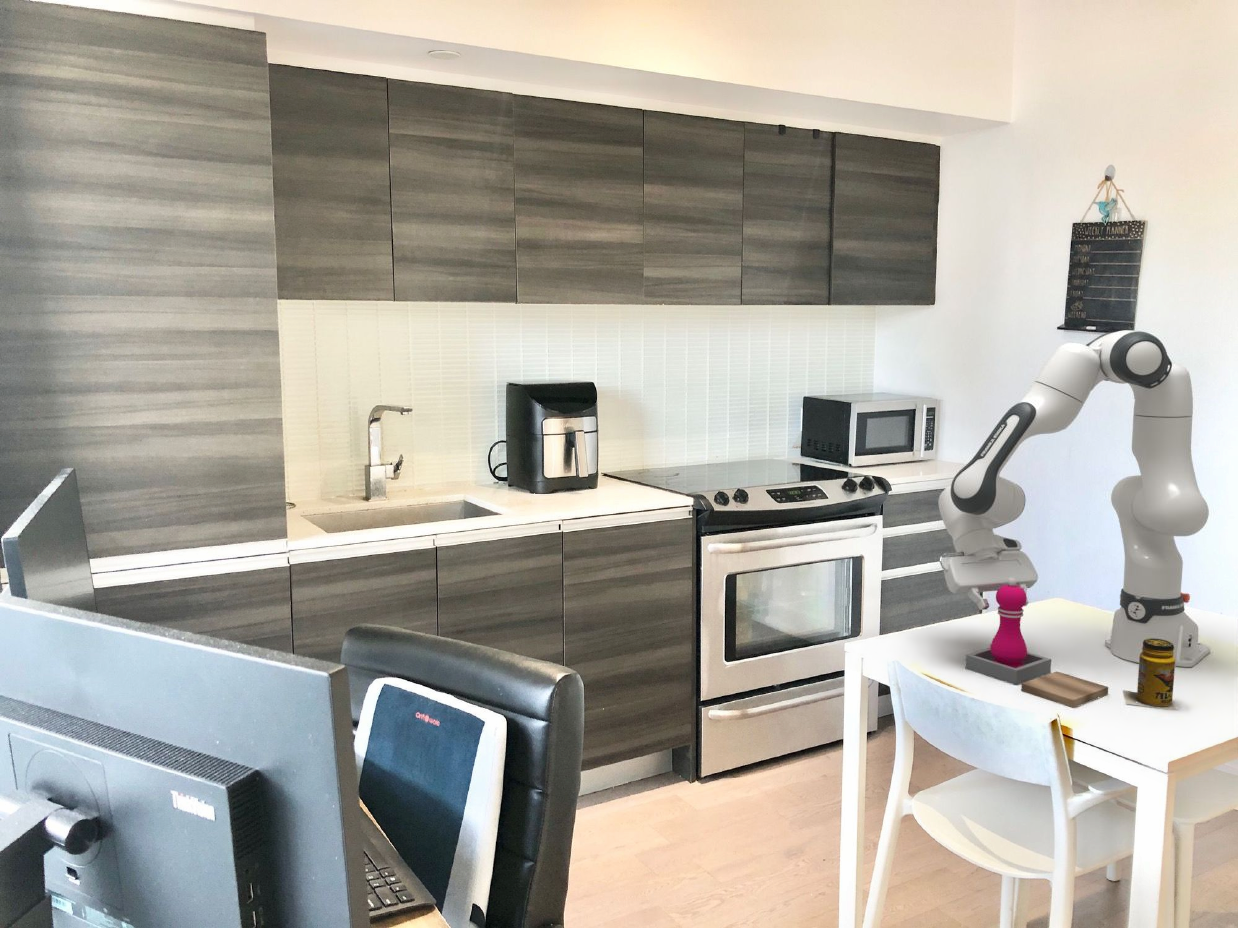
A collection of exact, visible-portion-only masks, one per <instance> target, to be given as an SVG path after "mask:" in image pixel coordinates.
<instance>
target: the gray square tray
mask: <svg viewBox="0 0 1238 928" xmlns="http://www.w3.org/2000/svg"><path fill="white" fill-rule="evenodd" d="M990 648H991V646H990V647H988V648H984V649H981V650H977V651H975V652H971V653H967V654H965V670H969V671H972V672H975V673H977V674H978V673H979V674H981V675H985V676H988V677H990V678H992V679H993V678H994V679H997V680H999V681H1003V682H1005V683H1008V684H1011V685H1015V686H1017V685H1021V684H1022V683H1024V682H1027V681H1030V680H1033V679H1036V678H1039V677H1042V676H1044V675H1047V674H1050V673H1052V672H1051V671H1052V658H1048V657H1045V656H1041V655H1038V654H1037V653H1036V654H1034V653H1032V652H1028V651H1027V656H1026V658H1025V659H1024V660H1023V661H1022V663H1023V664H1024V666H1021V667H1018V668H1013V667H1009V666H1006V665H1003V664H1000V663H997V662H993V660H994V659H995V658H994V657H993V655H992V654H991V652H990Z"/></svg>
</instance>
